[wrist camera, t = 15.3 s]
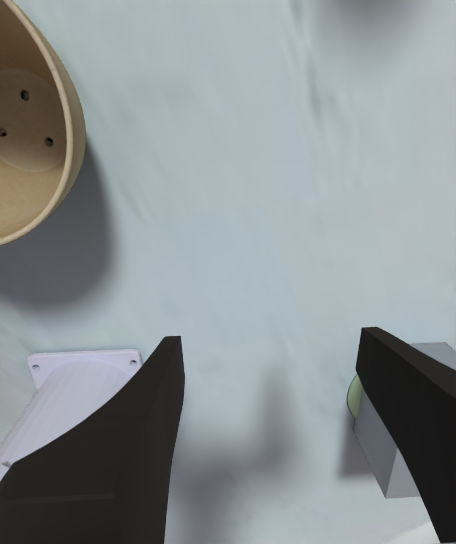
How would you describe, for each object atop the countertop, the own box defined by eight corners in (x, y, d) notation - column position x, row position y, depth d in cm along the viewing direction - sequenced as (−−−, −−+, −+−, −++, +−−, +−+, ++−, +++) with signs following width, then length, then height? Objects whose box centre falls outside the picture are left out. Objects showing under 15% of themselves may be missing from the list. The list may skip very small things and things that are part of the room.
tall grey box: (422, 427, 28) (469, 493, 23) (353, 431, 28) (385, 498, 23) (445, 342, 24) (507, 397, 19) (367, 346, 24) (408, 402, 19)
